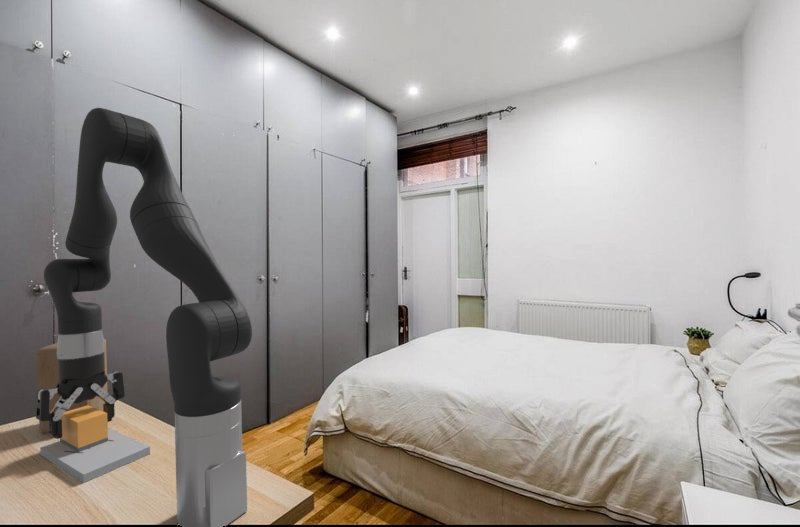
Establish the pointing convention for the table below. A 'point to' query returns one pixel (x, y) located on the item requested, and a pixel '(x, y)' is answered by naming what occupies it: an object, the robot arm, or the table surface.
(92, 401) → the block
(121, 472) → the table surface
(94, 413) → the block
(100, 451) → the board
